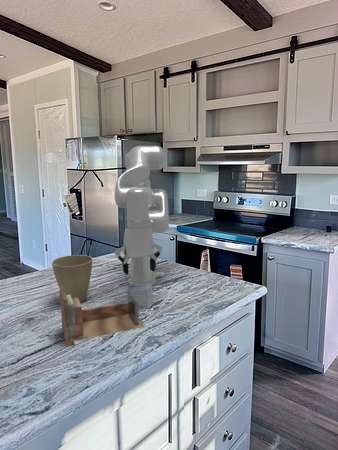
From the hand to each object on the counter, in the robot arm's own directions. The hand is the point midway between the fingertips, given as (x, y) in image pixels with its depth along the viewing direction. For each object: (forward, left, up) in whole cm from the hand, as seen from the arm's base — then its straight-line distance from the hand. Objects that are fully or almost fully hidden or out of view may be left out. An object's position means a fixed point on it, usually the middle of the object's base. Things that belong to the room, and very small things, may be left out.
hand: (139, 272), depth 126 cm
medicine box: (0, -1, -14) cm, 14 cm away
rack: (+16, +10, -14) cm, 23 cm away
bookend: (+6, +10, -13) cm, 17 cm away
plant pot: (+21, -18, -14) cm, 31 cm away
